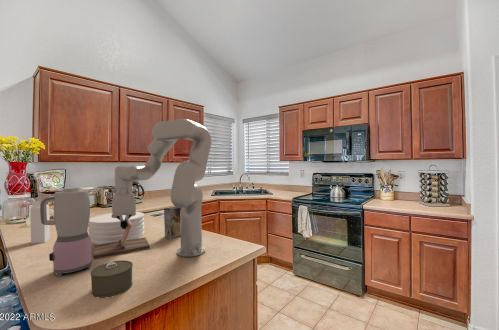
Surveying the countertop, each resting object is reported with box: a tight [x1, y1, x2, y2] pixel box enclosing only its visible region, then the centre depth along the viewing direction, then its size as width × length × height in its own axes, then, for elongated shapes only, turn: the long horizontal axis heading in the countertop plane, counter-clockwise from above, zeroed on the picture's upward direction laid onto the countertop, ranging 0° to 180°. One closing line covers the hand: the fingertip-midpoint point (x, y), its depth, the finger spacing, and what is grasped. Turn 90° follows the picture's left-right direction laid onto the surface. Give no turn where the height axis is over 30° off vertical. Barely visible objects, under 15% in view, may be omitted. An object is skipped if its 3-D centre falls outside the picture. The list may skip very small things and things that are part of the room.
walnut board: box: [92, 236, 151, 260], centre depth 115 cm, size 16×23×3 cm
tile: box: [120, 221, 132, 246], centre depth 116 cm, size 10×11×1 cm
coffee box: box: [163, 206, 181, 239], centre depth 136 cm, size 9×6×16 cm
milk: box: [29, 200, 51, 245], centre depth 128 cm, size 6×6×22 cm
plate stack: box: [87, 211, 145, 245], centre depth 136 cm, size 28×28×12 cm
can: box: [90, 259, 133, 299], centre depth 78 cm, size 12×12×7 cm
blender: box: [40, 186, 93, 277], centre depth 92 cm, size 16×12×32 cm
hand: (124, 228), depth 116 cm, fingers closed
